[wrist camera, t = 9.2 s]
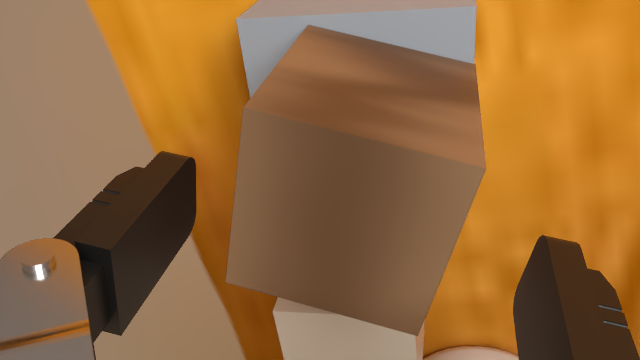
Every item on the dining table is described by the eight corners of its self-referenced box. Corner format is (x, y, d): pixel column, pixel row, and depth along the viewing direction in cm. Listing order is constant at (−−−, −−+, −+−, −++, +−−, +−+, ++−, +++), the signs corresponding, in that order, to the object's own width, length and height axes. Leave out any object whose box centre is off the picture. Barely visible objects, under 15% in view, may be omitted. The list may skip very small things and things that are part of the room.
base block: (471, -24, 18) (476, 6, 15) (464, 159, 22) (467, 216, 18) (272, -11, 20) (235, 19, 16) (295, 158, 23) (270, 210, 20)
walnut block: (475, 64, 16) (485, 168, 11) (427, 202, 18) (417, 336, 13) (308, 24, 16) (243, 106, 11) (285, 165, 19) (225, 282, 14)
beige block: (421, 215, 23) (414, 318, 18) (425, 302, 26) (420, 413, 21) (308, 215, 24) (272, 311, 19) (322, 298, 27) (294, 402, 22)
